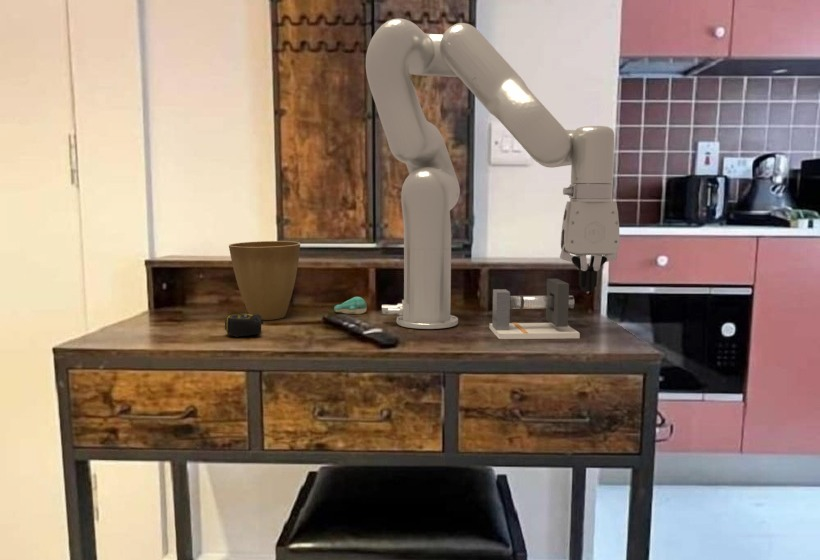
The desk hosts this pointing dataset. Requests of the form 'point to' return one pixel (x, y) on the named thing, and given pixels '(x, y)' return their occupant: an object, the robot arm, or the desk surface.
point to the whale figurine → (352, 306)
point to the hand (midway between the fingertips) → (587, 290)
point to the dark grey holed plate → (558, 302)
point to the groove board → (535, 331)
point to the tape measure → (243, 324)
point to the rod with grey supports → (517, 306)
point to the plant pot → (266, 275)
